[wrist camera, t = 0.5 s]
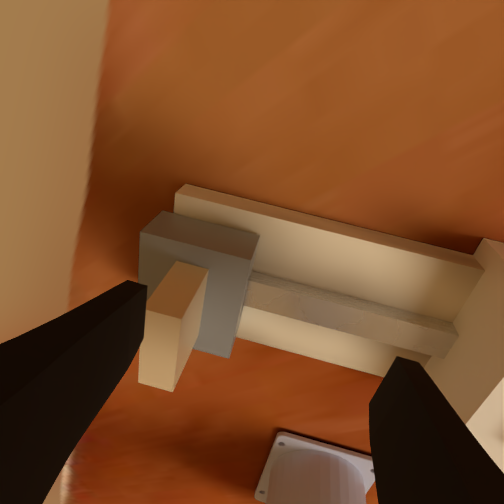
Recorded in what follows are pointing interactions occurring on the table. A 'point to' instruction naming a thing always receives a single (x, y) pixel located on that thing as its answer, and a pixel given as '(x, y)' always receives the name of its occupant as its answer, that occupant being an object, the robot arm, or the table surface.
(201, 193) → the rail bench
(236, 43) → the table surface
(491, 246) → the cabinet
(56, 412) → the robot arm
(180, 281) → the carriage
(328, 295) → the rail
